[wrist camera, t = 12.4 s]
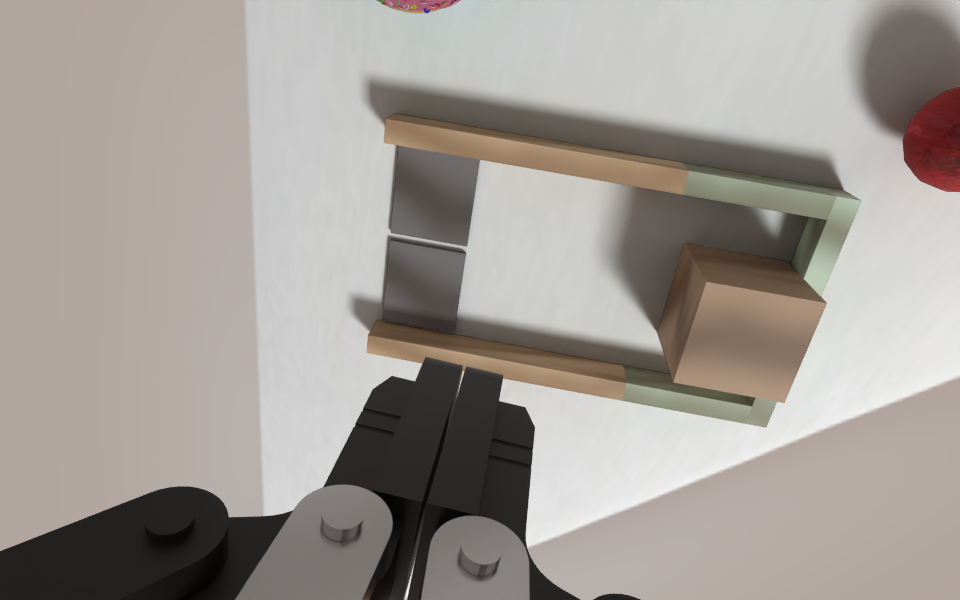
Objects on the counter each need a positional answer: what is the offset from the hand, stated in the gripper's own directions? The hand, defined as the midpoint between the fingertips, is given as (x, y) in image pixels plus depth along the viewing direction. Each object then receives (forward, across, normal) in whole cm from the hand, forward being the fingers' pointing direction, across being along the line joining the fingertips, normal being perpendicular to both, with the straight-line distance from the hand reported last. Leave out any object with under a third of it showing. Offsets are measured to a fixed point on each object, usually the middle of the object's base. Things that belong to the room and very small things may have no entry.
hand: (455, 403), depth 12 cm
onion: (+33, -24, -4) cm, 40 cm away
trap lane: (+32, -5, +10) cm, 34 cm away
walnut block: (+32, -15, +10) cm, 37 cm away
